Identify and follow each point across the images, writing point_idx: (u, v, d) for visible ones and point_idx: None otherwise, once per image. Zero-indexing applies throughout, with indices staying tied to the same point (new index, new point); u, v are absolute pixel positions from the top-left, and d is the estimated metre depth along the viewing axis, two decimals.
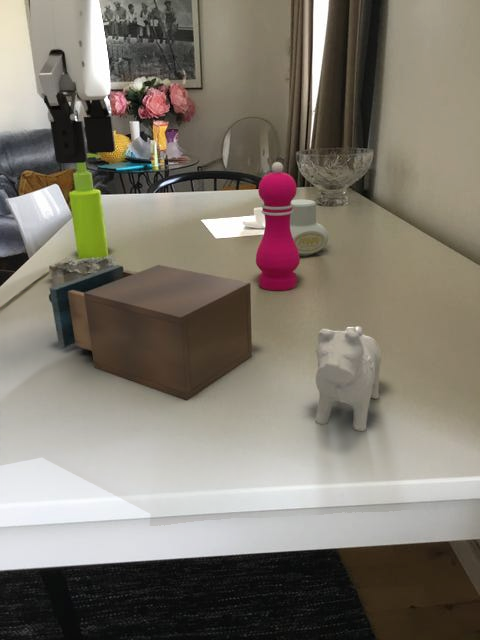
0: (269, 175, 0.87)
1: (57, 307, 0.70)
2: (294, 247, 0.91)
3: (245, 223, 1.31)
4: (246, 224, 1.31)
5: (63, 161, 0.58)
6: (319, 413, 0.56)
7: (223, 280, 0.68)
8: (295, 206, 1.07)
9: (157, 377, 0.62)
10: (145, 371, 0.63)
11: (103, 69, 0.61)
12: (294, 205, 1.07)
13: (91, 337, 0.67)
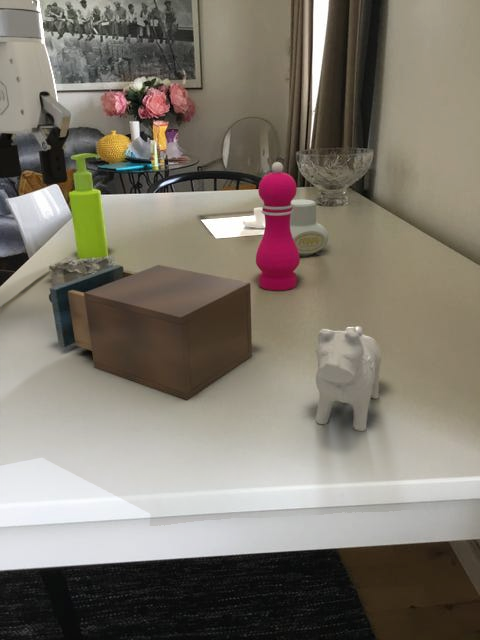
0: (269, 175, 0.87)
1: (57, 307, 0.70)
2: (294, 247, 0.91)
3: (245, 223, 1.31)
4: (246, 224, 1.31)
5: (51, 183, 0.69)
6: (319, 413, 0.56)
7: (223, 280, 0.68)
8: (295, 206, 1.07)
9: (157, 377, 0.62)
10: (145, 371, 0.63)
11: None
12: (294, 205, 1.07)
13: (91, 337, 0.67)
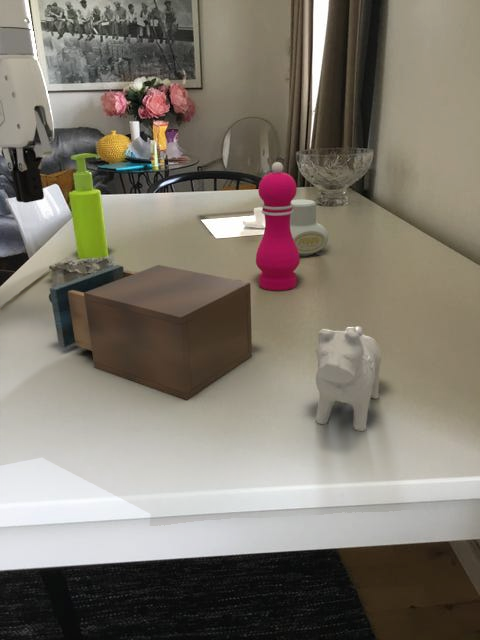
0: (269, 175, 0.87)
1: (57, 307, 0.70)
2: (294, 247, 0.91)
3: (245, 223, 1.31)
4: (246, 224, 1.31)
5: (28, 200, 0.74)
6: (319, 413, 0.56)
7: (223, 280, 0.68)
8: (295, 206, 1.07)
9: (157, 377, 0.62)
10: (145, 371, 0.63)
11: None
12: (294, 205, 1.07)
13: (91, 337, 0.67)
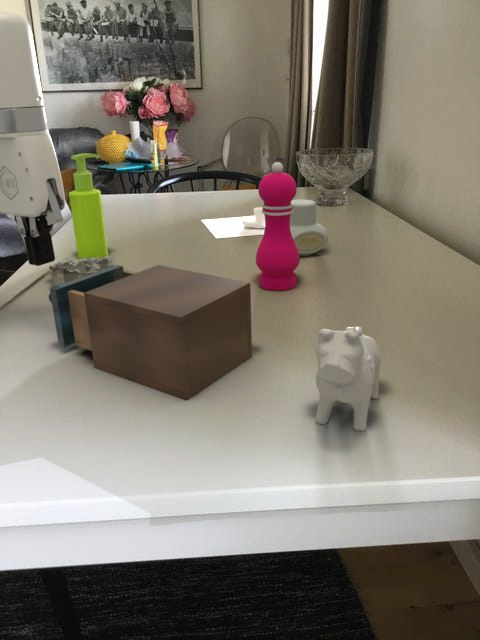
0: (269, 175, 0.87)
1: (57, 307, 0.70)
2: (294, 247, 0.91)
3: (245, 223, 1.31)
4: (246, 224, 1.31)
5: (40, 263, 0.78)
6: (319, 413, 0.56)
7: (223, 280, 0.68)
8: (295, 206, 1.07)
9: (157, 377, 0.62)
10: (145, 371, 0.63)
11: None
12: (294, 205, 1.07)
13: (91, 337, 0.67)
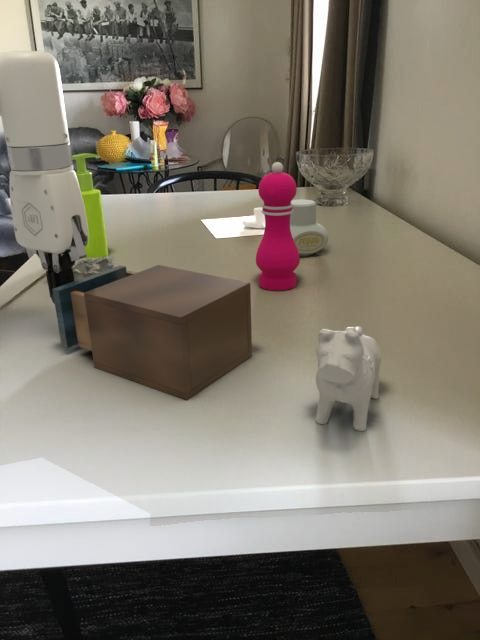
0: (269, 175, 0.87)
1: (60, 308, 0.70)
2: (294, 247, 0.91)
3: (245, 223, 1.31)
4: (246, 224, 1.31)
5: None
6: (319, 413, 0.56)
7: (223, 280, 0.68)
8: (295, 206, 1.07)
9: (157, 377, 0.62)
10: (145, 371, 0.63)
11: None
12: (294, 205, 1.07)
13: (91, 337, 0.67)
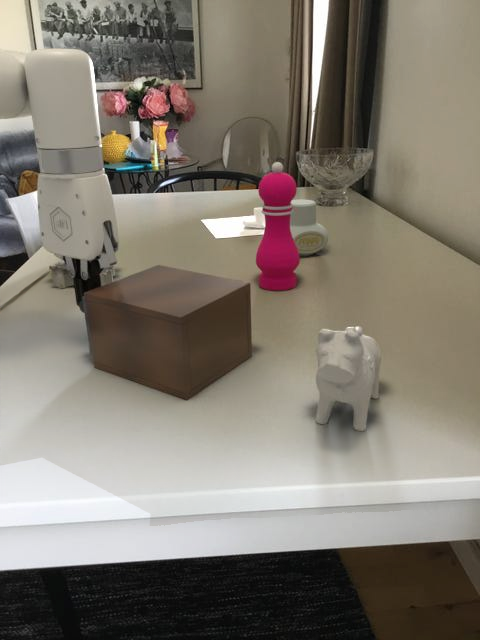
0: (269, 175, 0.87)
1: None
2: (294, 247, 0.91)
3: (245, 223, 1.31)
4: (246, 224, 1.31)
5: None
6: (319, 413, 0.56)
7: (223, 280, 0.68)
8: (295, 206, 1.07)
9: (157, 377, 0.62)
10: (145, 371, 0.63)
11: None
12: (294, 205, 1.07)
13: (91, 337, 0.67)
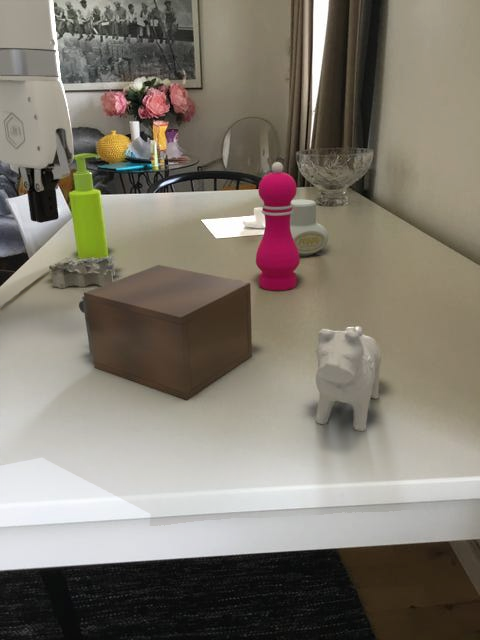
0: (269, 175, 0.87)
1: None
2: (294, 247, 0.91)
3: (245, 223, 1.31)
4: (246, 224, 1.31)
5: (43, 220, 0.73)
6: (319, 413, 0.56)
7: (223, 280, 0.68)
8: (295, 206, 1.07)
9: (157, 377, 0.62)
10: (145, 371, 0.63)
11: None
12: (294, 205, 1.07)
13: (91, 337, 0.67)
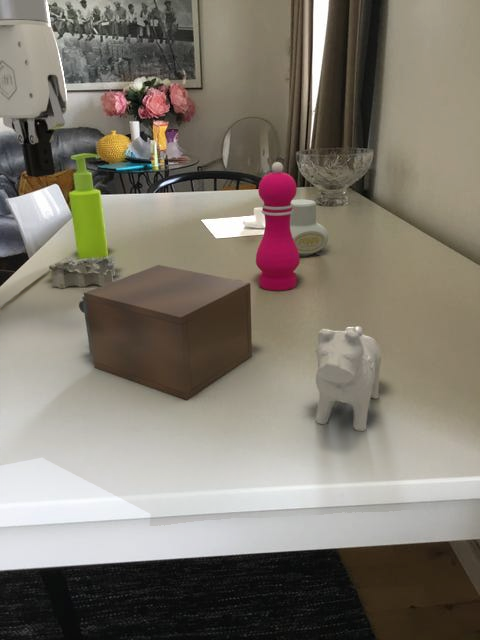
0: (269, 175, 0.87)
1: None
2: (294, 247, 0.91)
3: (245, 223, 1.31)
4: (246, 224, 1.31)
5: (39, 175, 0.72)
6: (319, 413, 0.56)
7: (223, 280, 0.68)
8: (295, 206, 1.07)
9: (157, 377, 0.62)
10: (145, 371, 0.63)
11: None
12: (294, 205, 1.07)
13: (91, 337, 0.67)
